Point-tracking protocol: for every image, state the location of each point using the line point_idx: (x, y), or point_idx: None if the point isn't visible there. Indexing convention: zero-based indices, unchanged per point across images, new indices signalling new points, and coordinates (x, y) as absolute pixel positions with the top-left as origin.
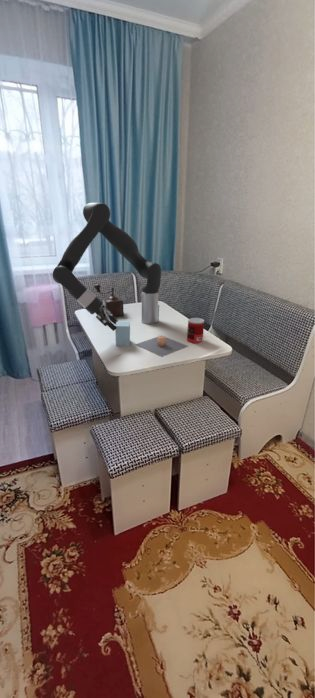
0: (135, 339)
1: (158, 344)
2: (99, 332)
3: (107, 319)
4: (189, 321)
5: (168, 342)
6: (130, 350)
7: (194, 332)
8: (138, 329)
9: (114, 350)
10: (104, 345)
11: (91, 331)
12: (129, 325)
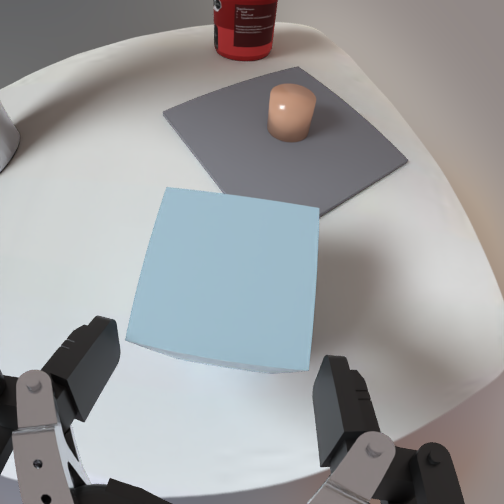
0: None
1: (301, 134)
2: None
3: (372, 491)
4: None
5: (255, 102)
6: (341, 283)
7: (274, 18)
8: (38, 204)
9: None
10: (246, 447)
11: None
12: (290, 203)
